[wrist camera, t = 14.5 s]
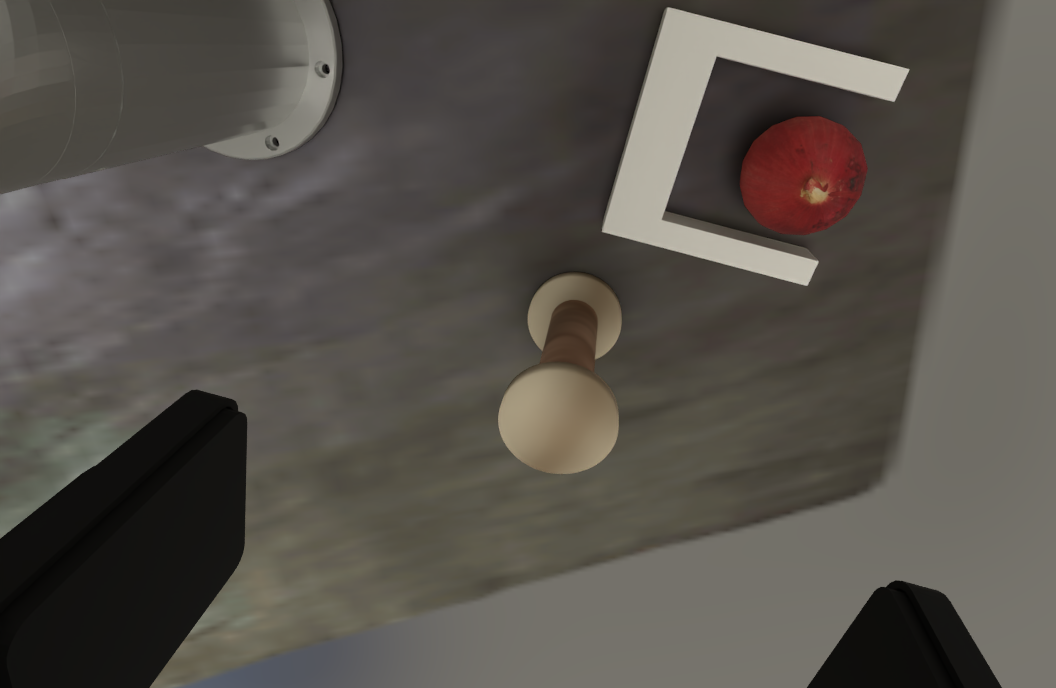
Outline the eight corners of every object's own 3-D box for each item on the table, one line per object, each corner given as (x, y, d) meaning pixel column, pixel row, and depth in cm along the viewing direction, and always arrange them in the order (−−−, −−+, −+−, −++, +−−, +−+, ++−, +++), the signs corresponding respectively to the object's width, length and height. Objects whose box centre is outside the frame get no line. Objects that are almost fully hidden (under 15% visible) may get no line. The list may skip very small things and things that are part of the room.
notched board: (602, 220, 37) (601, 231, 35) (664, 9, 32) (667, 7, 30) (795, 271, 37) (807, 285, 35) (889, 67, 32) (909, 69, 30)
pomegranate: (853, 110, 33) (909, 127, 26) (831, 217, 35) (876, 260, 28) (739, 109, 34) (763, 125, 27) (725, 213, 36) (744, 254, 29)
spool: (520, 343, 42) (483, 458, 30) (541, 261, 39) (508, 352, 27) (606, 366, 41) (602, 490, 30) (633, 285, 39) (639, 388, 27)
